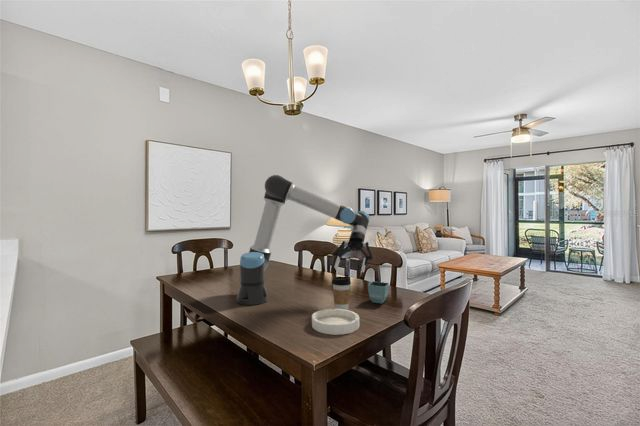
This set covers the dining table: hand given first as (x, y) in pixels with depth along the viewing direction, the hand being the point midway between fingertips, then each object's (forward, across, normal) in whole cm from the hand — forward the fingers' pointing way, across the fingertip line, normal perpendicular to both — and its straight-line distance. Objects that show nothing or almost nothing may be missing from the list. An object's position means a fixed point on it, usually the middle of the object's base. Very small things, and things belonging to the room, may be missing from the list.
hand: (348, 269), depth 149 cm
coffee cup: (+19, 0, -4) cm, 20 cm away
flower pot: (+6, -12, -18) cm, 23 cm away
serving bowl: (+32, -4, +8) cm, 33 cm away
